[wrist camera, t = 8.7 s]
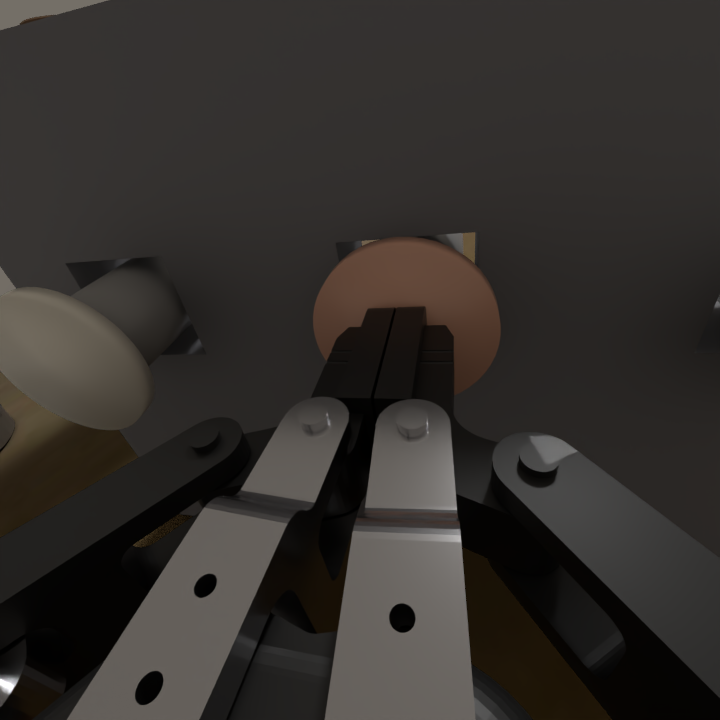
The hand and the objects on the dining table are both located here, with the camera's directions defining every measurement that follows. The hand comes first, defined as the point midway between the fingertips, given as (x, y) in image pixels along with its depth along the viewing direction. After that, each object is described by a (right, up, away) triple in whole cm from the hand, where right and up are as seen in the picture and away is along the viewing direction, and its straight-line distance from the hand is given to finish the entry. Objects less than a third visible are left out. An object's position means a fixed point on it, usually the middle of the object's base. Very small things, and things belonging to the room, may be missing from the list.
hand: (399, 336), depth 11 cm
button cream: (-9, -1, +5) cm, 10 cm away
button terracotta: (+1, 0, +4) cm, 4 cm away
